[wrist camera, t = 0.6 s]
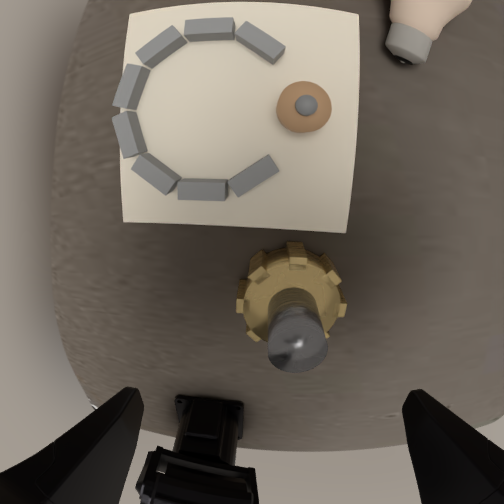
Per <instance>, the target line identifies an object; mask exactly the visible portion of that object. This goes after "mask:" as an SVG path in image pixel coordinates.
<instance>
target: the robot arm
mask: <svg viewBox="0 0 504 504" xmlns="http://www.w3.org/2000/svg"><path fill="white" fill-rule="evenodd" d="M175 405H176V410H177V414H178V418H179V423H180V424H179V428H178V432H177V435H176V440H175V443H174V447H173V451H170V450H167V449H163V447H160V446H157V448H156V451H150V452H148V455H147V458H146V461H145V464H144V467H143V469H142V472H141V474H140V476H139V479H138V481H137V483H136V487H135V488H136V490H137V491H138V493H139V495H140V497H139V498H140V499H141V503H140V504H259V498H258V490H257V482H256V473H255V468H250V467H248V468H245V467H239V466H235V458H236V448H237V440H240V439H242V434H243V411H244V405H243V403H241V402H232V401H221V400H211V399H202V398H194V397H186V396H176V397H175ZM143 411H144V404H143V401H142V398H141V395H140V392H139V390H138V389H137V388H133V387H125V388H123V389H122V390H121V391H120V392H118V393H117V394H116V395H114V396H113V397H112V398H110V399H109V400H108V401H107V402H105V403H104V404H103V405H101V406H100V407H99V408H97V409H96V410H95V411H94V412H92V413H91V414H90V415H88V416H87V417H86V418H85V419H83V420H82V421H80V422H79V423H78V424H76V425H75V426H74V427H72V428H71V429H70V430H68V431H67V432H66V433H64V434H63V435H62V436H60V437H59V438H57V439H56V440H55V441H54V442H52V443H50V444H49V445H48V446H46V447H45V448H43V449H42V450H41V451H39V452H38V453H36V454H35V455H33V456H31V457H29V458H28V459H26V460H24V461H22V462H20V463H18V464H17V465H15V466H13V467H11V468H9V469H7V470H5V471H3V472H1V473H0V504H119V500H120V497H121V494H122V491H123V487H124V484H125V481H126V477H127V474H128V471H129V468H130V465H131V462H132V459H133V456H134V453H135V449H136V446H137V441H138V435H139V430H140V426H141V421H142V416H143ZM402 414H403V419H404V425H405V431H406V438H407V444H408V448H409V453H410V456H411V460H412V464H413V468H414V472H415V476H416V480H417V485H418V489H419V493H420V498H421V503H422V504H504V450H503V449H501V448H500V447H498V446H497V445H496V444H494V443H493V442H492V441H490V440H488V439H487V438H486V437H485V436H483V435H482V434H481V433H479V432H478V431H477V430H475V429H474V428H473V427H471V426H470V425H469V424H467V423H466V422H465V421H463V420H462V419H461V418H459V417H458V416H457V415H455V414H454V413H453V412H452V411H450V410H449V409H448V408H446V407H445V406H444V405H442V404H441V403H440V402H438V401H437V400H436V399H434V398H433V397H432V396H430V395H429V394H428V393H426V392H425V391H424V390H422V389H417V390H412V391H410V393H409V394H408V396H407V398H406V400H405V402H404V404H403V407H402ZM158 471H161V472H164V473H165V474H163V473H160V472H158Z"/></svg>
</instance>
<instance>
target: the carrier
mask: <svg viewBox="0 0 504 504" xmlns="http://www.w3.org/2000/svg"><path fill="white" fill-rule="evenodd" d="M359 65H360V49H359V15H358V14H353V13H349V12H343V11H338V10H332V9H326V8H320V7H312V6H304V5H295V4H283V3H266V2H220V3H203V4H191V5H182V6H174V7H167V8H160V9H154V10H148V11H143V12H138V13H133V14H130V17H129V23H128V30H127V38H126V46H125V55H124V65H123V75H122V78H121V81H120V84H119V86H118V89H117V92H116V95H115V98H114V101H113V104H112V105H113V106H117V107H121V112H120V114H118V115H116V116H114V117H112V121H113V124H114V128H115V131H116V135H117V138H118V142H119V145H120V172H121V194H122V209H123V222H142V223H171V224H196V225H218V226H238V227H257V228H274V229H290V230H306V231H321V232H335V233H346V229H347V222H348V214H349V207H350V199H351V191H352V182H353V172H354V162H355V150H356V138H357V123H358V104H359Z"/></svg>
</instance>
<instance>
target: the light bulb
mask: <svg viewBox="0 0 504 504" xmlns="http://www.w3.org/2000/svg"><path fill="white" fill-rule="evenodd" d="M471 2H472V0H391V7H390V15H389V17H390V20H391V21H392V24H391V27H390V30H389V33H388V36H387V39H386V42H385V44H386V47H387V48H388V49H389V50H390V51H391V53H392V54H393V55H394V57H396V58H397V59H398V60H400V62H402V63H407V64H420V63H425V62H426V60H427V57H428V54H429V51H430V47H431V44H432V41H433V40H436V39H437V38H438V36H439V34H440V32H441V30H442V28H443V27H444V26H445V25H446V24H447V23H448V22H449V21H451V20H452V19H453V18H454V17H456V16H457V15H458V14H460V13H461V12H463V11H464V10H466V9H467V8H468V7H469V5H470V3H471Z"/></svg>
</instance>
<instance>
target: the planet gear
mask: <svg viewBox="0 0 504 504" xmlns="http://www.w3.org/2000/svg"><path fill="white" fill-rule="evenodd" d="M341 281H342V280H341V278H340V276H339V274H338V272H337V270H336V268H335V266H334V264H333V262H332V261H331V260H330V259H329V258H328V257H327V255H326V254H325V253H323V254H322V255H321V256H320V257H319V256H317V255H316V254H314V253H312V252H310V251H308V250H305V249H304V246H303V243H302V242H293V241H287V244H286V248H281V249H277V250H274V251H271V252H269V253H267V254H266V253H265V252H264V251H263V250H262V249H261V250H260V251H259V252H258V253H257V254H255V255H254V256H253V257H252V258H251V259H250V266H249V274H248V276H247V280H245V279H240V281H239V287H238V293H237V300H236V313H244V318H245V320H246V323H247V327H246V334H247V335H248V336H250V337H251V338H252V339H253V340H254V341H255V342H257V341H259V340H260V339H262V340H264V341H266V342H268V357H269V360H270V361H271V363H272V364H273V365H274V366H275V367H277V368H278V369H280V370H282V371H286V372H292V373H298V372H304V371H308V370H310V369H313V368H314V367H316V366H318V365H319V364H320V363H321V362H322V361H323V360H324V358H325V357H326V354H327V351H328V345H327V341H326V339H327V338H328V337H330V334H329V331H328V330H329V329H330V328H331V327H332V326H333V324H334V323H335V321H336V319H337V317H344V315H345V311H346V307H347V302H346V300H345V298H344V295H343V293H342V291H341V289H340V286H339V283H340V282H341Z"/></svg>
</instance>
